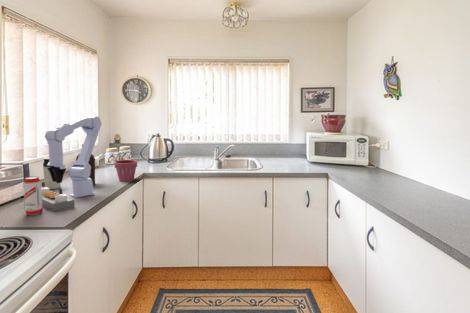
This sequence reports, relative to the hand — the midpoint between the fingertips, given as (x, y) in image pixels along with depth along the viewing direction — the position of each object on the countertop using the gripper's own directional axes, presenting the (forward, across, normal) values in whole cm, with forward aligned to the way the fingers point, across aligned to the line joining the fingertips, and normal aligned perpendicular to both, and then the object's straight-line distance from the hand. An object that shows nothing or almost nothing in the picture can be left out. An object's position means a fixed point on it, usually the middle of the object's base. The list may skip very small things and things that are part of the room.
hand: (57, 182), depth 147 cm
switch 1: (+7, -4, -2) cm, 8 cm away
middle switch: (+7, 0, -2) cm, 7 cm away
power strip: (+10, 0, -2) cm, 11 cm away
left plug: (+7, -10, -2) cm, 13 cm away
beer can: (+11, +9, -13) cm, 20 cm away
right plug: (+7, +10, -2) cm, 12 cm away
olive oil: (+10, -28, +28) cm, 41 cm away
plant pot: (+10, -22, +51) cm, 56 cm away
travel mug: (+10, -34, +11) cm, 37 cm away
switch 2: (+7, +3, -2) cm, 8 cm away
